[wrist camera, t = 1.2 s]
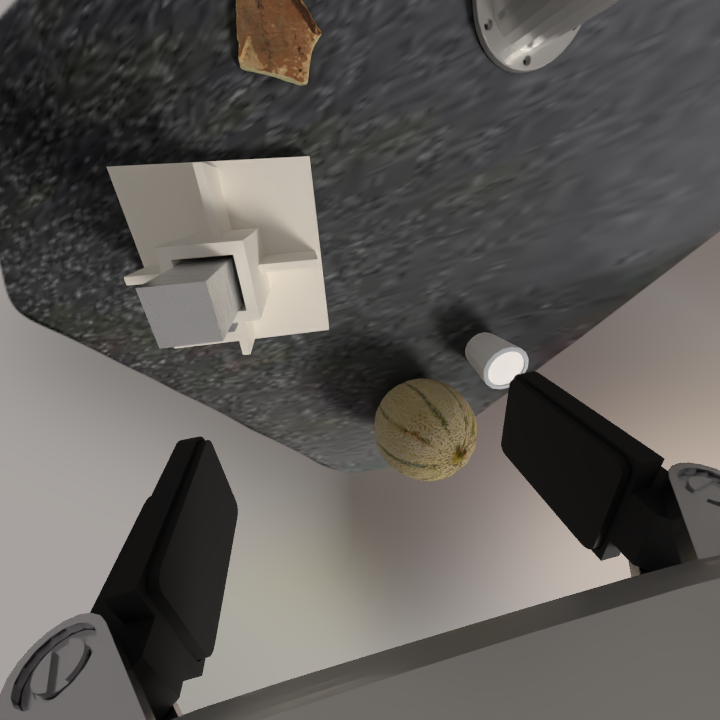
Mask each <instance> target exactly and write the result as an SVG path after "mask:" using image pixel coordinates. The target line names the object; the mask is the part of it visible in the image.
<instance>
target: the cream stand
mask: <svg viewBox="0 0 720 720" xmlns="http://www.w3.org/2000/svg"><path fill="white" fill-rule="evenodd" d="M107 170H108V172H109V175H110V178H111V180H112V183H113V186H114V188H115V191H116V194H117V196H118V199H119V202H120V204H121V207H122V210H123V212H124V215H125V218H126V220H127V223H128V226H129V228H130V231H131V234H132V236H133V239H134V242H135V244H136V247H137V250H138V252H139V255H140V258H141V260H142V263H143V266H144V268H143V269H141V270H138V271H136V272H134V273H132V274H130V275H127V276H125V277H124V280H125V282H126V285H137V284H144V283H146V282H148V281H149V280H151V279H153V278H155V277H157V276H158V275H160V274H162V273H164V272H166V271H167V270H169V269H171V268H173V267H175V266H176V265H178V264H180V263H182V262H184V261H185V260H187V259H189V258H199V257H210V256H222V255H233V256H234V260H235V264H236V268H237V273H238V277H239V281H240V285H241V289H242V293H243V298H244V302H243V304H242V306H241V308H240V310H239V311H238V313H237V315H236V317H235V319H234V321H233V323H232V325H231V327H230V329H229V330H228V332H227V334H226V336H225V338H224V340H223V341H218V342H210V343H202V344H193V345H185V346H177V347H174V348H183V347H191V346H199V345H208V344H216V343H224V342H232V341H240V345H241V349H242V353H243V355H248V354H250V353H251V350H252V347H253V344H254V340H255V339H257V338H265V337H273V336H282V335H290V334H298V333H306V332H315V331H323V330H329V323H328V314H327V306H326V297H325V288H324V279H323V271H322V262H321V253H320V245H319V236H318V227H317V218H316V210H315V201H314V192H313V183H312V175H311V166H310V157H309V156H303V157H284V158H265V159H246V160H226V161H207V162H188V163H169V164H149V165H130V166H111V167H107Z"/></svg>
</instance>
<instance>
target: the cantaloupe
mask: <svg viewBox="0 0 720 720" xmlns="http://www.w3.org/2000/svg"><path fill="white" fill-rule="evenodd" d="M374 432H375V439H376V444H377V447H378V449H379V451H380V453H381V455H382V457H383V458H384V460H385V461H386V462H387V463H388V464H389V465H390V466H391V467H392V468H394V469H395V470H397V471H399V472H400V473H402V474H404V475H406V476H408V477H412V478H415V479H418V480H423V481H435V480H440V479H444V478H448V477H449V476H451V475H453V474H454V473H455V472H457V471H458V470H459V469H461V468H462V467H463V466H464V465H465V464H466V463H467V462H468V460H469V459H470V456H471V454H472V453H473V451H474V449H475V446H476V438H477V436H476V435H477V424H476V419H475V416H474V413H473V411H472V409H471V407H470V406H469V404H468V403H467V402H466V400H465V398H464V397H463V396H462V395H461V394H460V393H459V392H458V391H457V390H455V389H454V388H452V387H451V386H449V385H447V384H445V383H443V382H440V381H437V380H432V379H422V378H419V379H414V380H409V381H406V382H404V383H402V384H399V385H397V386H396V387H394V388H393V389H392V390H391V391H389V392H388V393H387V394H386V395H385V397H384V398H383V399H382V401H381V403H380V405H379V407H378V409H377V411H376V416H375V426H374Z"/></svg>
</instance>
